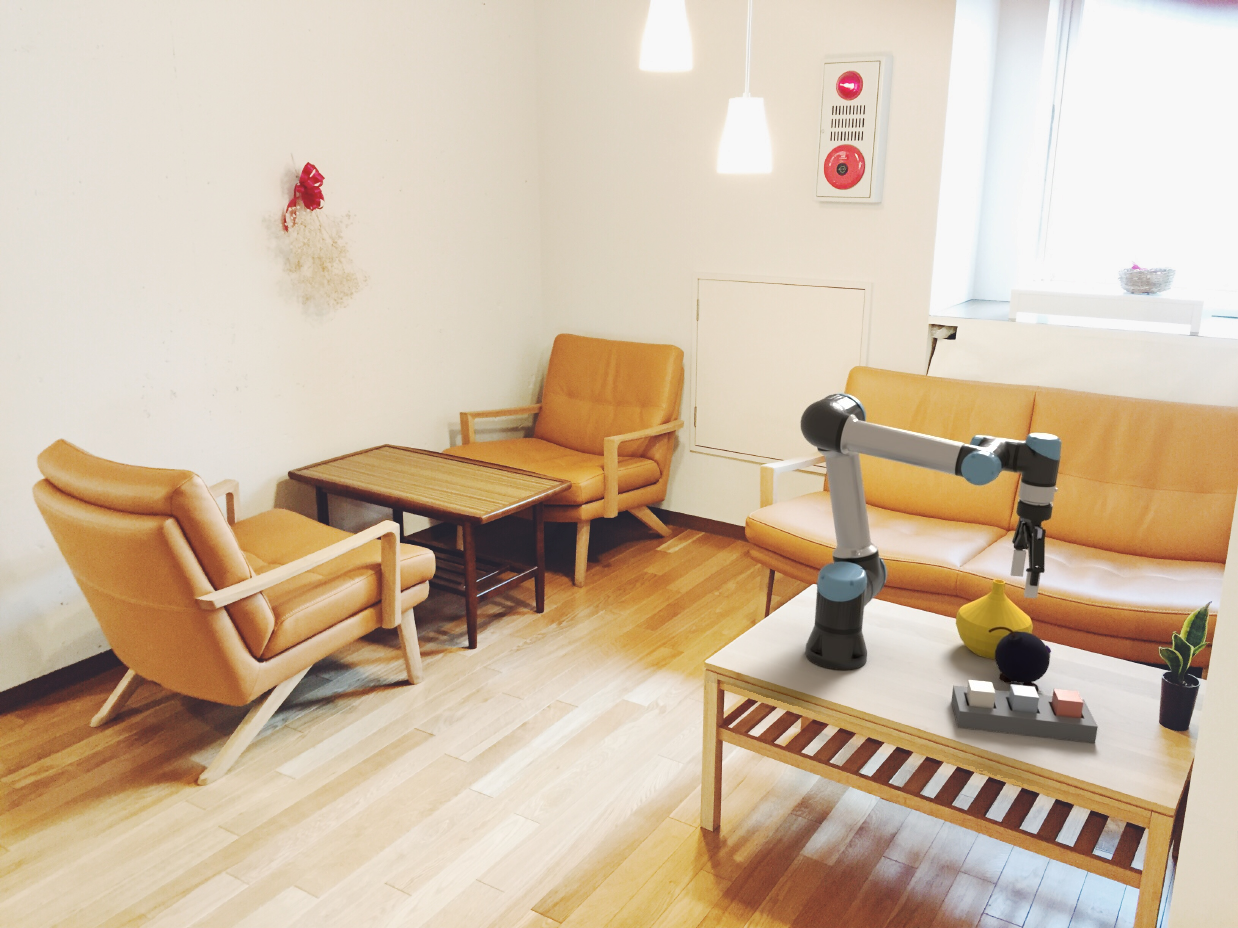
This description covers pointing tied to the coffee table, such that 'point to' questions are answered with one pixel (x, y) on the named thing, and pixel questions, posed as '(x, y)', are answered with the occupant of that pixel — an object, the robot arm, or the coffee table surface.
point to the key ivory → (980, 694)
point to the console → (1023, 718)
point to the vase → (990, 621)
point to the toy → (1021, 657)
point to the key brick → (1067, 703)
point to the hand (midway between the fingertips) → (1023, 586)
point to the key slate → (1023, 698)
